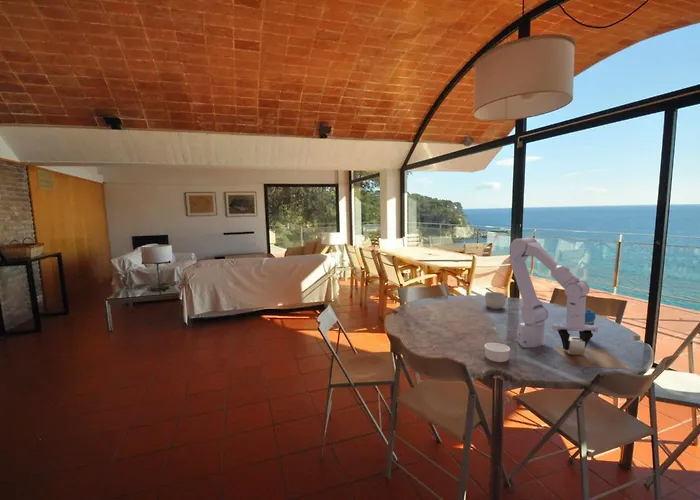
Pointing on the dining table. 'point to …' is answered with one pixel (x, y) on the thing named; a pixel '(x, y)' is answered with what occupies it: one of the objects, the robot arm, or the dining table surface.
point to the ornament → (589, 317)
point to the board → (593, 359)
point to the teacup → (495, 300)
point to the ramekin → (497, 352)
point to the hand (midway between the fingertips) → (573, 349)
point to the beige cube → (575, 346)
